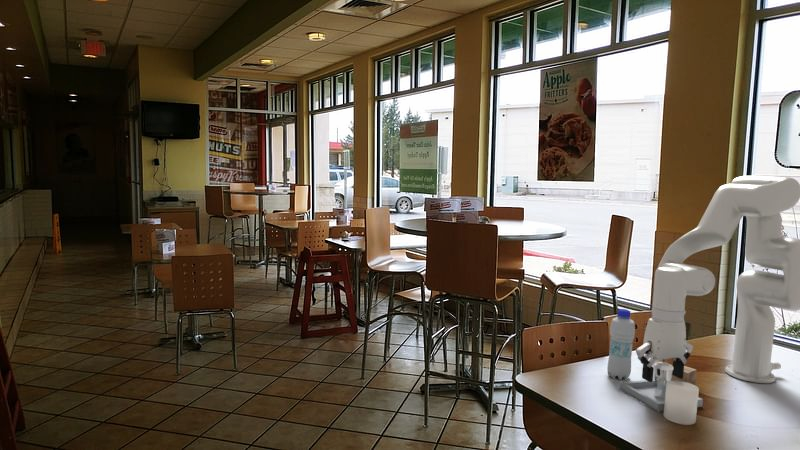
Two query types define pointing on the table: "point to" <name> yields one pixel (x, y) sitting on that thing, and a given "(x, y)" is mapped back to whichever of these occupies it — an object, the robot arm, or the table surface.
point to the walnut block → (687, 376)
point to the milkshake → (662, 377)
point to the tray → (646, 394)
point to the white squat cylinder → (681, 402)
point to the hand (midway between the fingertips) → (662, 378)
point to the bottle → (621, 345)
